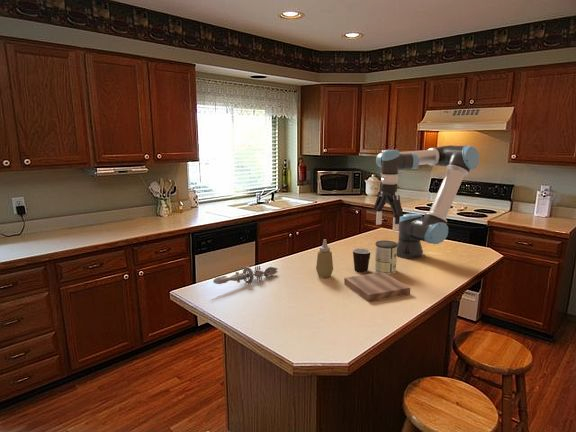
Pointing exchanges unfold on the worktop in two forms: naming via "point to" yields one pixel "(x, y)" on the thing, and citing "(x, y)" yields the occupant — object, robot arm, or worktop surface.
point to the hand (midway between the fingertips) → (386, 227)
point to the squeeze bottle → (324, 261)
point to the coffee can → (385, 257)
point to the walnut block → (376, 286)
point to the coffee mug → (361, 259)
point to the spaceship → (247, 275)
